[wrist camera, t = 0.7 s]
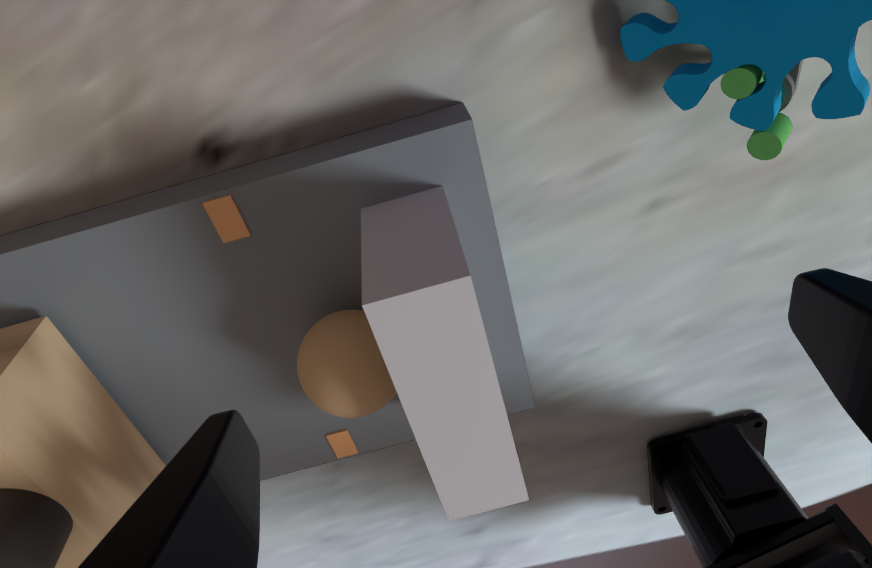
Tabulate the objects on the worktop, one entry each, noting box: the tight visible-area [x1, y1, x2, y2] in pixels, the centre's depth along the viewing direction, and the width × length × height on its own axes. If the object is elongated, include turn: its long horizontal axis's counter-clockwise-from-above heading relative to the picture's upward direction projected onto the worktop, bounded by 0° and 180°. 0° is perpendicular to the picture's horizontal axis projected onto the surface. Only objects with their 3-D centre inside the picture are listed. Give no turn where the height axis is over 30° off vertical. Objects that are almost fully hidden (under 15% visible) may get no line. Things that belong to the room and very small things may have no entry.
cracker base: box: [0, 103, 535, 521], centre depth 22 cm, size 14×24×8 cm, turn 104°
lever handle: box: [0, 316, 166, 568], centre depth 19 cm, size 9×3×11 cm, turn 14°
